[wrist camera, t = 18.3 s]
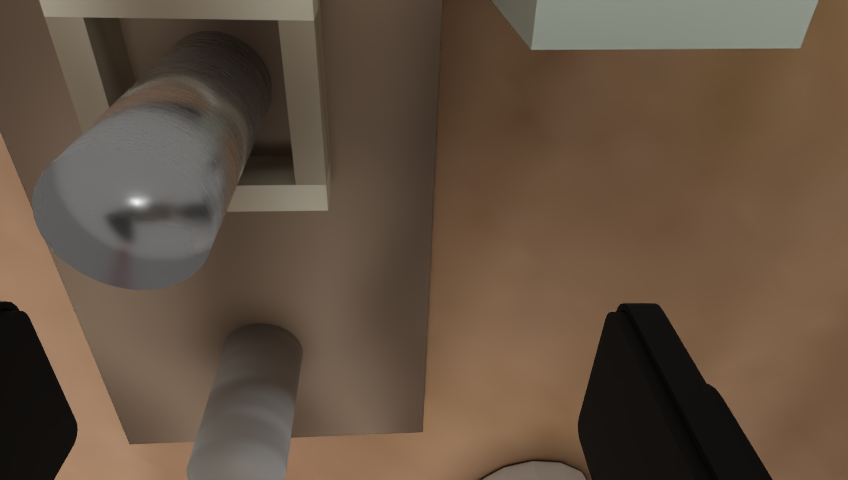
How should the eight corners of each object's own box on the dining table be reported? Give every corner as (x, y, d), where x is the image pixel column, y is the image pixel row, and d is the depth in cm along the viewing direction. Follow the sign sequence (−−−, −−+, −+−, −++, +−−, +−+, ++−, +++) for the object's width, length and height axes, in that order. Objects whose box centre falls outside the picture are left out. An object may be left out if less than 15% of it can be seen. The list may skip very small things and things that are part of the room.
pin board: (441, -131, 14) (484, -122, 9) (420, 402, 25) (432, 551, 20) (-67, -149, 13) (-374, -152, 8) (142, 412, 24) (76, 572, 19)
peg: (265, 31, 15) (195, 147, 9) (277, 133, 16) (224, 288, 10) (152, 29, 14) (4, 148, 9) (176, 133, 16) (63, 292, 10)
